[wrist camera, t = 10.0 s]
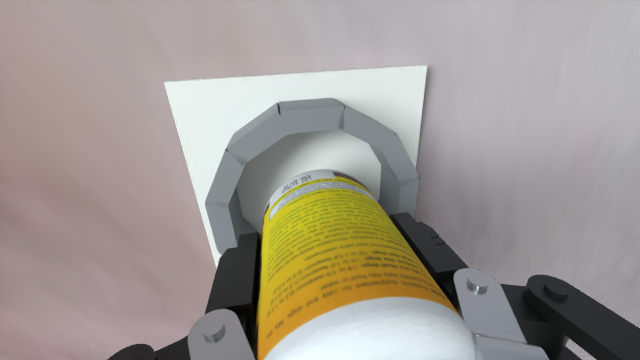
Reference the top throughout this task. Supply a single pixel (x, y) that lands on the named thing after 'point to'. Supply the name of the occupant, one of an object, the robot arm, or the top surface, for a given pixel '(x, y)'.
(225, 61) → the top surface
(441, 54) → the top surface
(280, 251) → the supplement bottle
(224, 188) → the ring holder
